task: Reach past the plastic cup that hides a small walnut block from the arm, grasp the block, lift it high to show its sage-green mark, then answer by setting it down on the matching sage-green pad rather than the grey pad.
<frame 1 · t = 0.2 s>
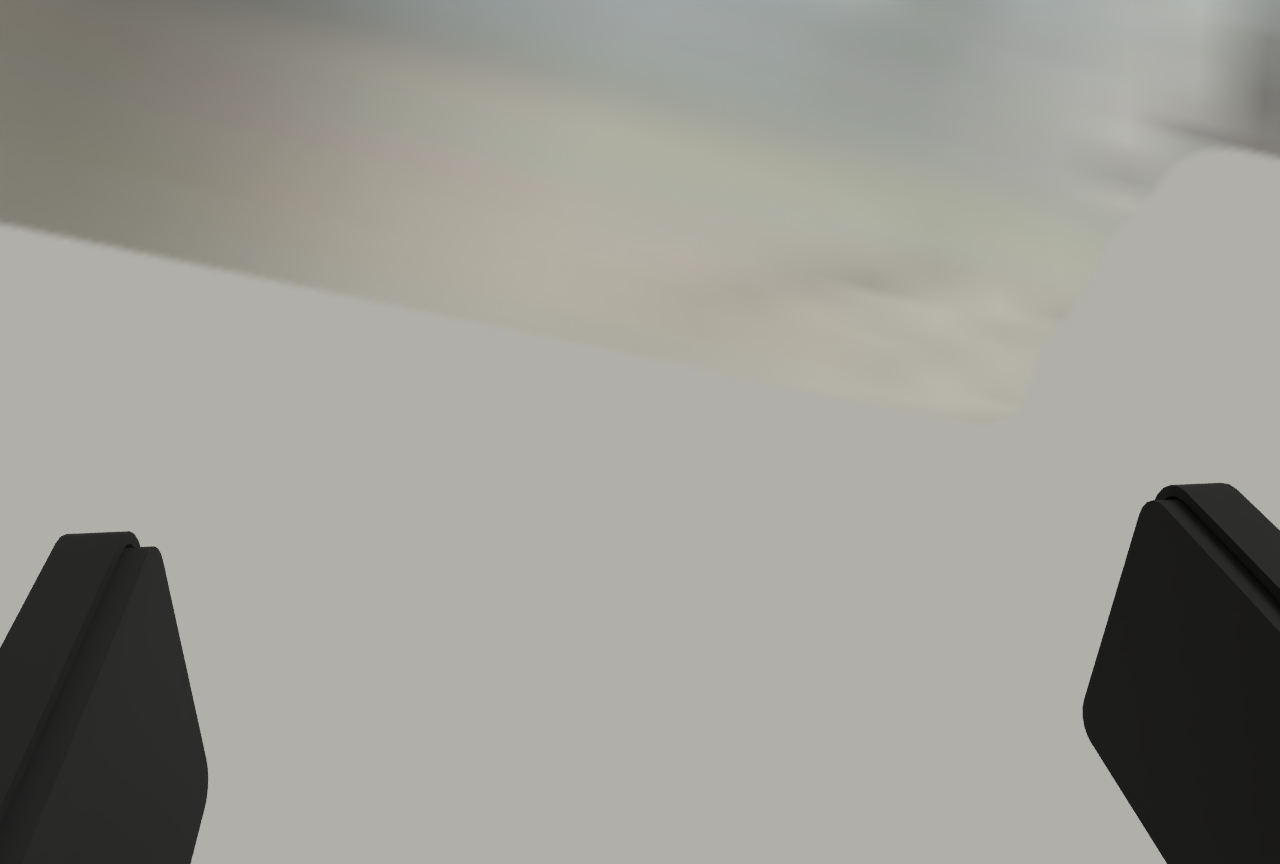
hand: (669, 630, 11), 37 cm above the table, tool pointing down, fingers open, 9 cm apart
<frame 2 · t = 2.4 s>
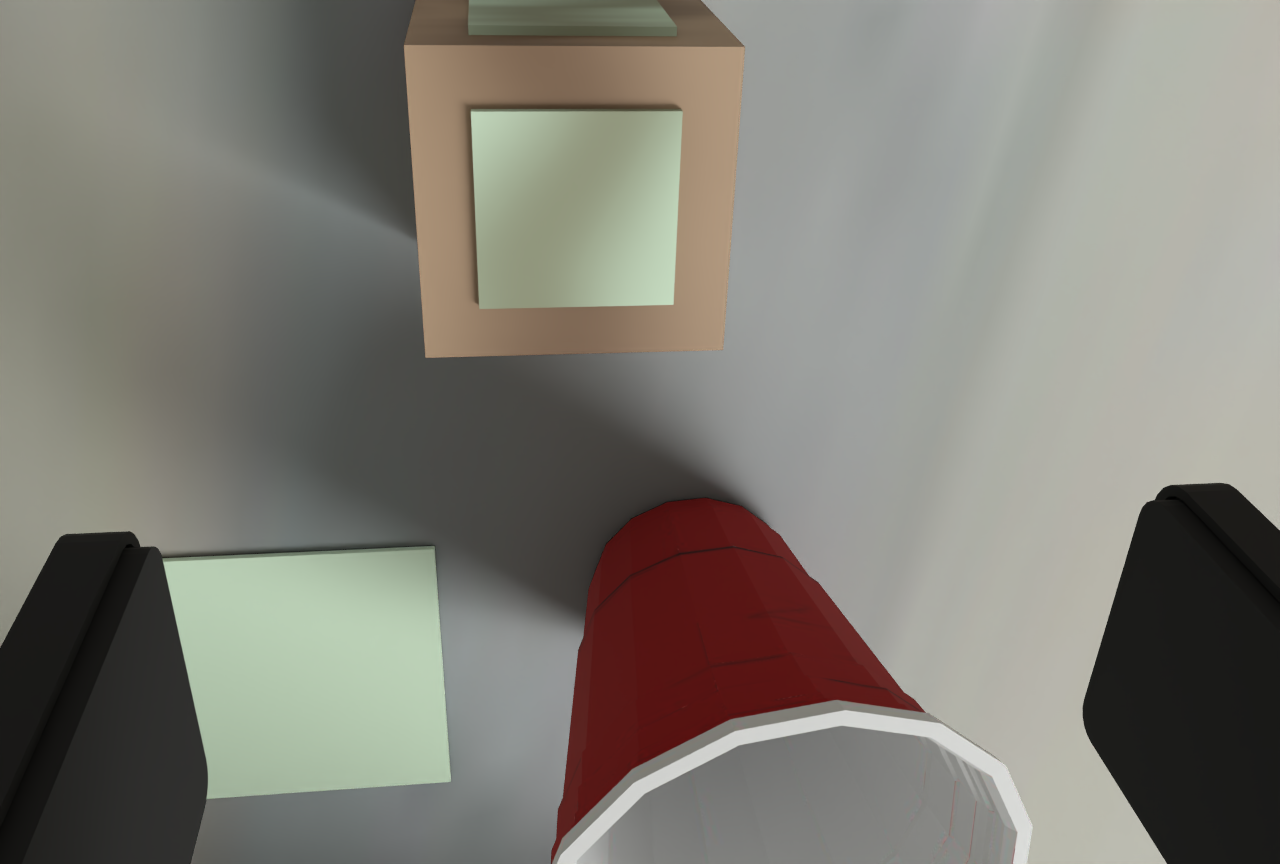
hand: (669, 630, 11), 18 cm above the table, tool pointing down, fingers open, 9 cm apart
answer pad: (287, 678, 34), on the table
letter block: (557, 125, 27), on the table
plastic cup: (695, 571, 34), on the table
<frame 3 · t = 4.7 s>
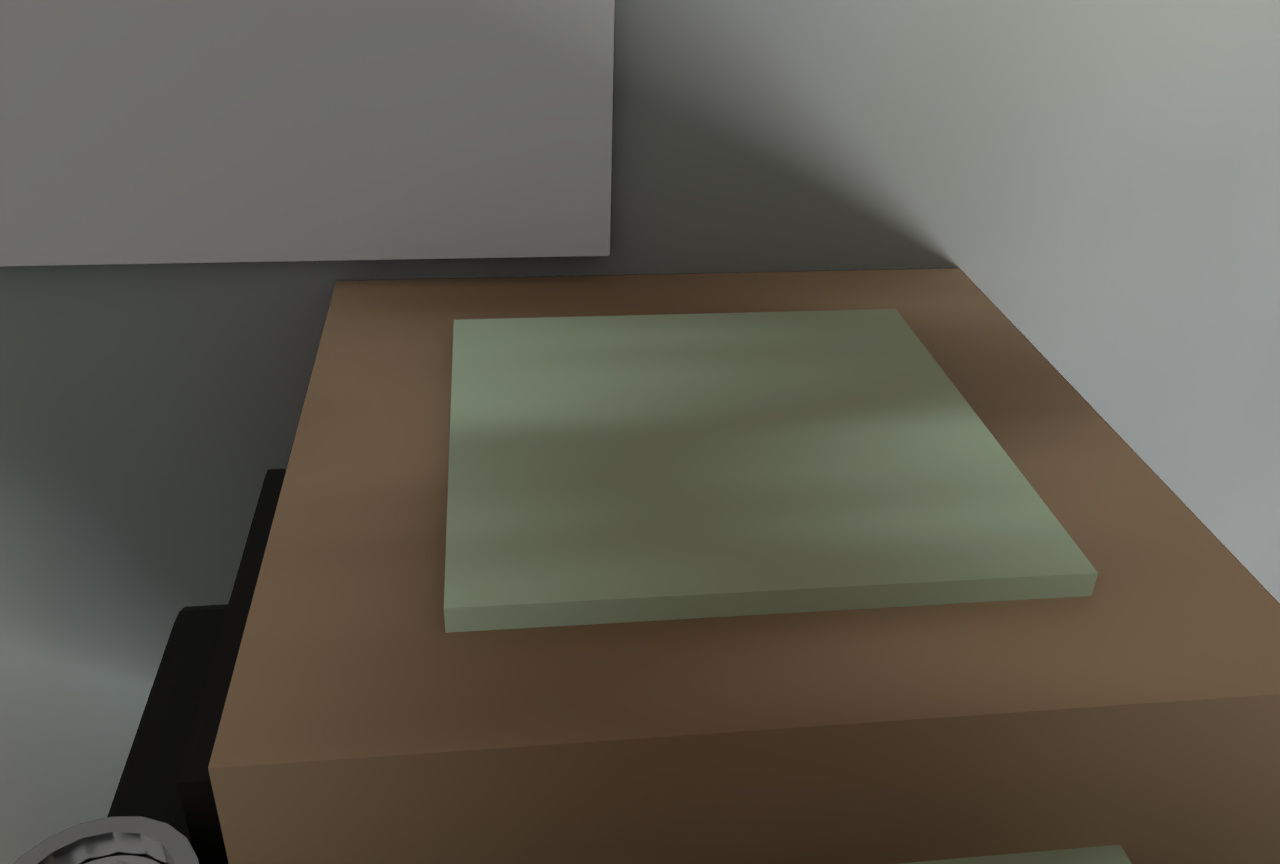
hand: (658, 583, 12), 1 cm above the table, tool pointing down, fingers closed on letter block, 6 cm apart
letter block: (647, 532, 13), on the table, touching gripper
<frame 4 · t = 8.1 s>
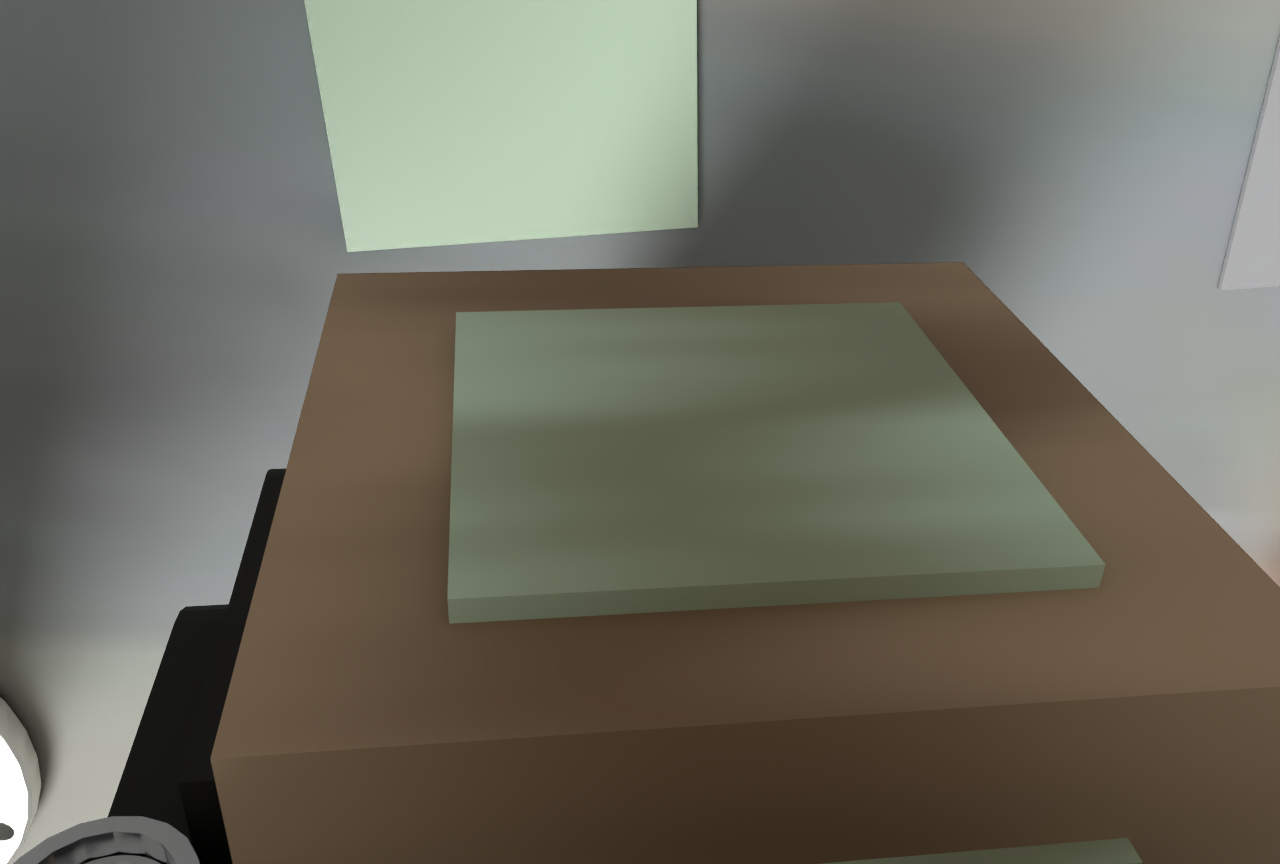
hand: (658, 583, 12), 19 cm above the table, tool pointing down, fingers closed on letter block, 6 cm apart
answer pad: (509, 59, 28), on the table
letter block: (649, 528, 12), point 18 cm above the table, touching gripper
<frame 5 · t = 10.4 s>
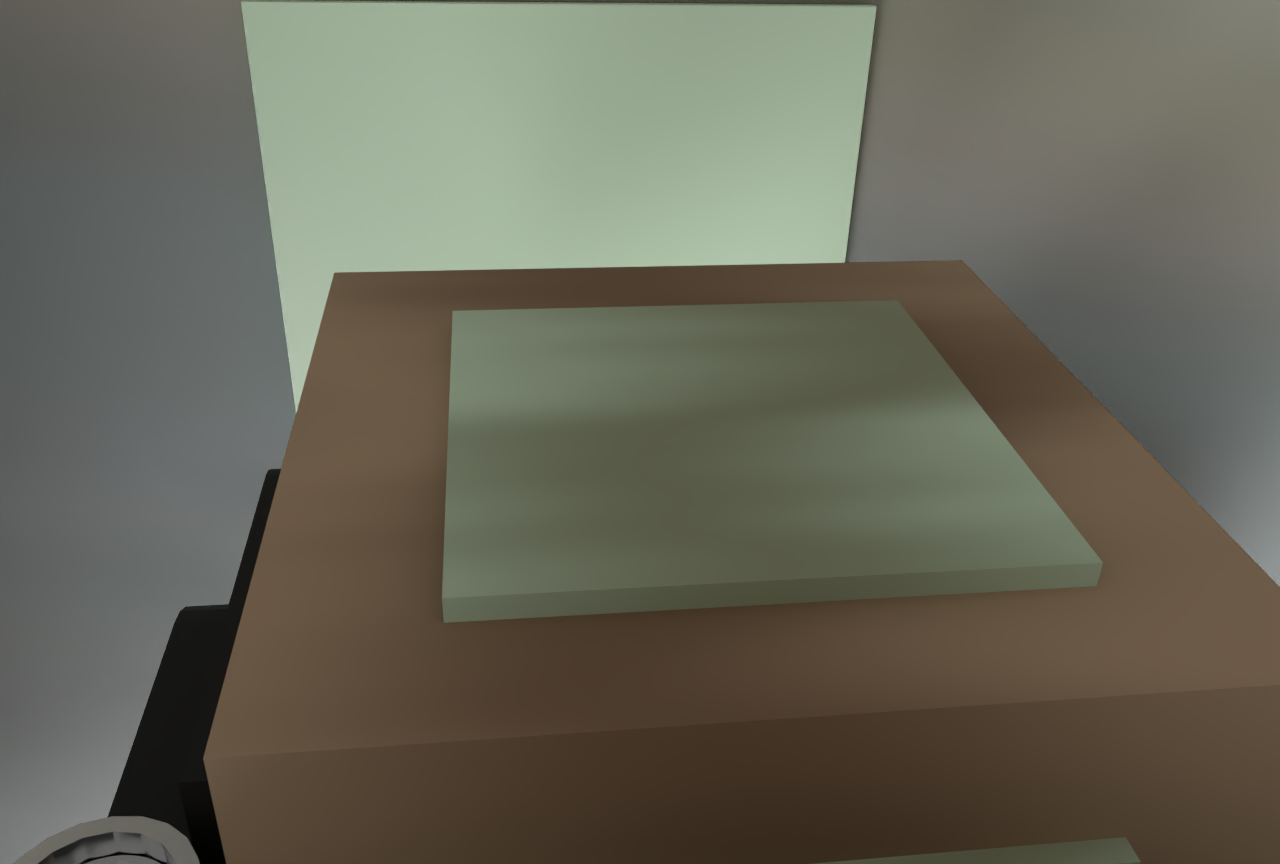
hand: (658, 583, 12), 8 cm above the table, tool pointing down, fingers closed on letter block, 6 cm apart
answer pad: (569, 295, 19), on the table
letter block: (648, 527, 12), point 7 cm above the table, touching gripper
when the fingers open (2 cm above the table, at t = 12.0 s): letter block drops 1 cm, resting on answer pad.
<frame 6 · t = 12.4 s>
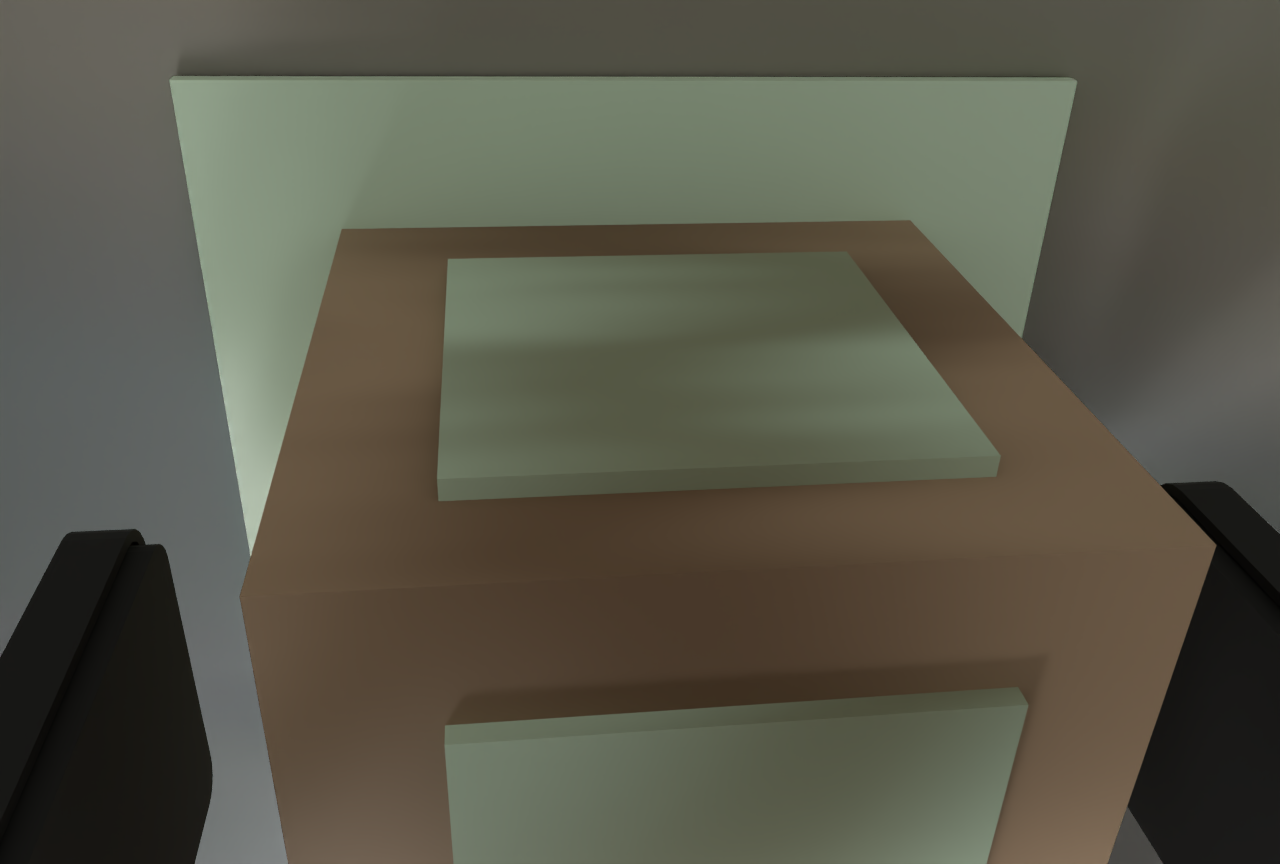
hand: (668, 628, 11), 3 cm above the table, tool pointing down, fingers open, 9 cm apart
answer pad: (631, 461, 14), on the table
letter block: (627, 467, 14), resting on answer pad
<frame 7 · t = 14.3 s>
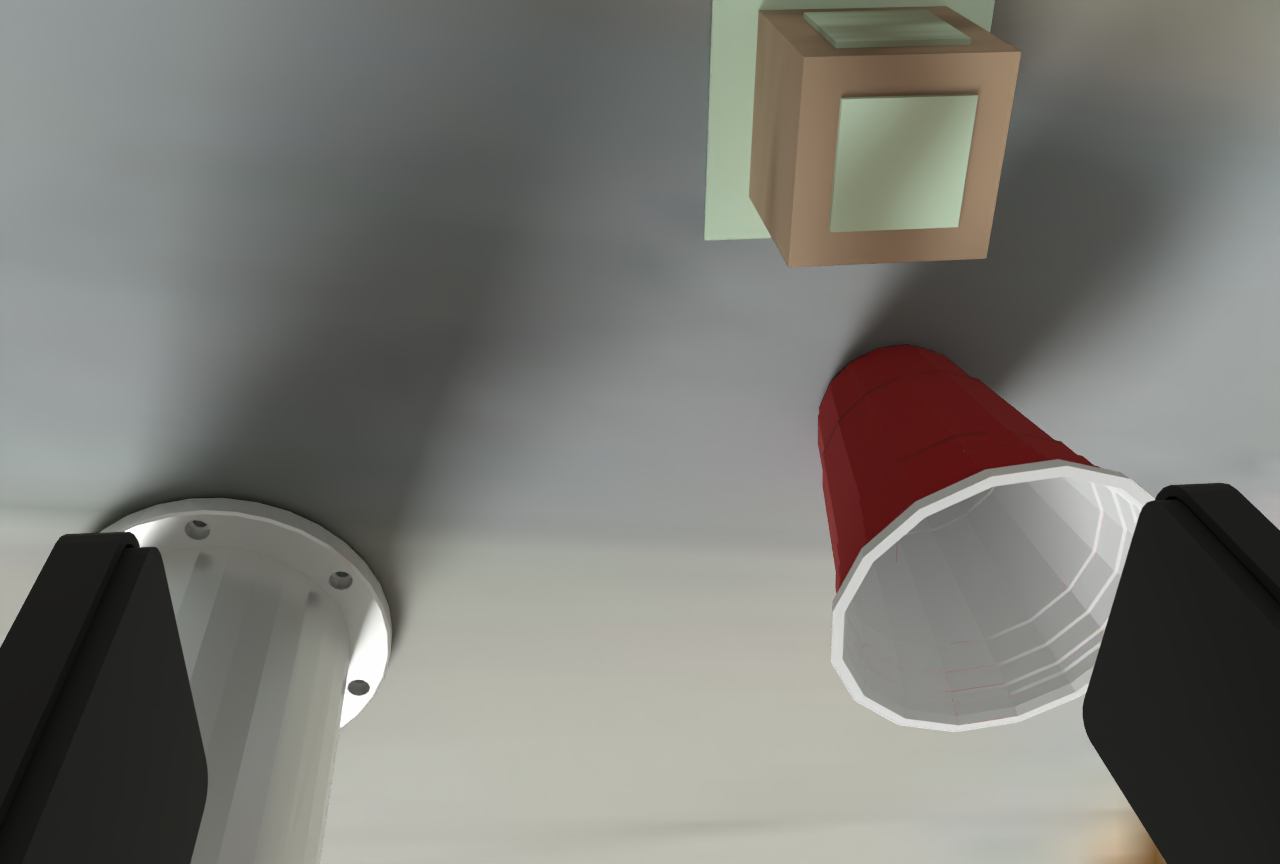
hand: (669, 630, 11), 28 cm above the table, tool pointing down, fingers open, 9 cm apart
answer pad: (844, 103, 38), on the table
letter block: (844, 104, 38), resting on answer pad
plastic cup: (889, 412, 44), on the table
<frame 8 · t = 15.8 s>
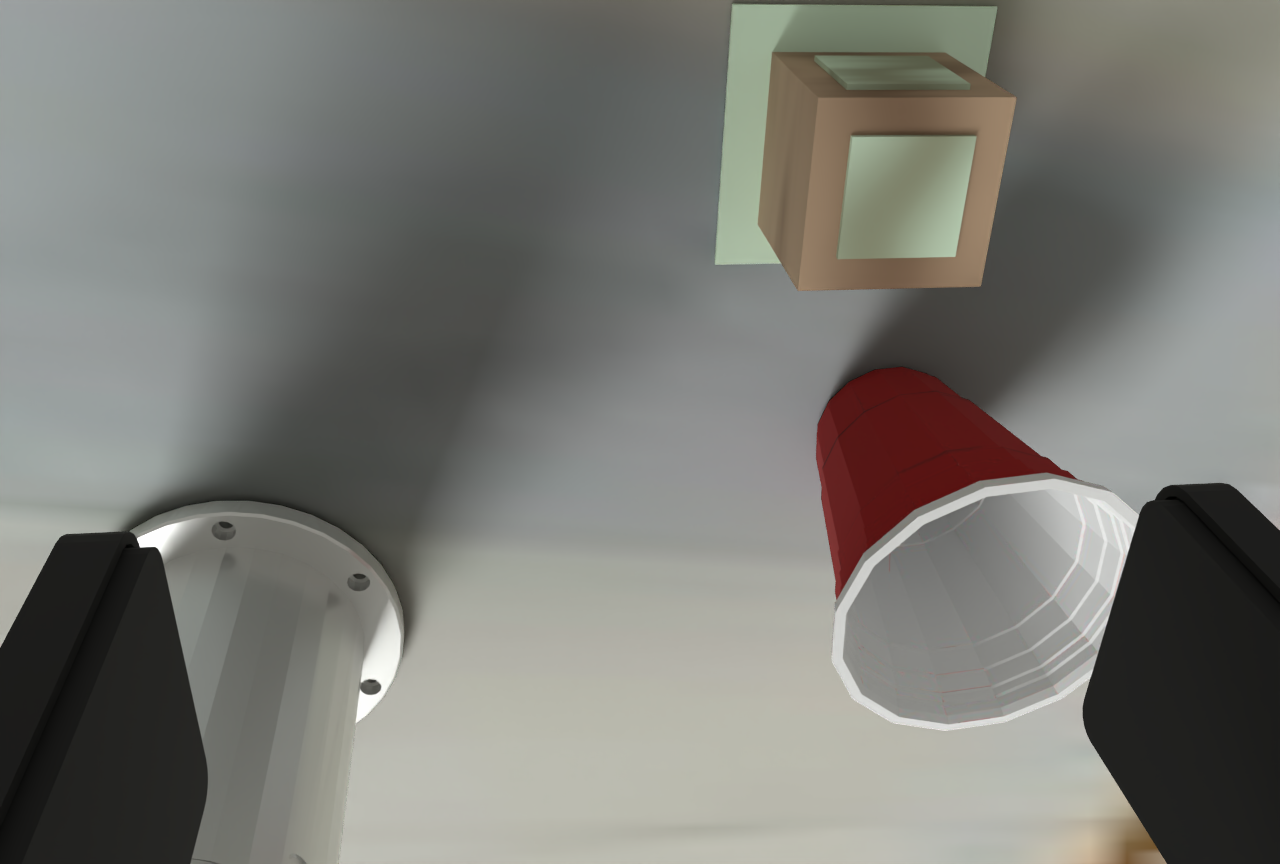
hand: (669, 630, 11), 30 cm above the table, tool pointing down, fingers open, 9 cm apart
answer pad: (849, 140, 40), on the table
letter block: (848, 140, 40), resting on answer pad
plastic cup: (883, 430, 47), on the table
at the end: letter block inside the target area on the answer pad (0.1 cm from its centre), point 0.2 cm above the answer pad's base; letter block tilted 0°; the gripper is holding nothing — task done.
